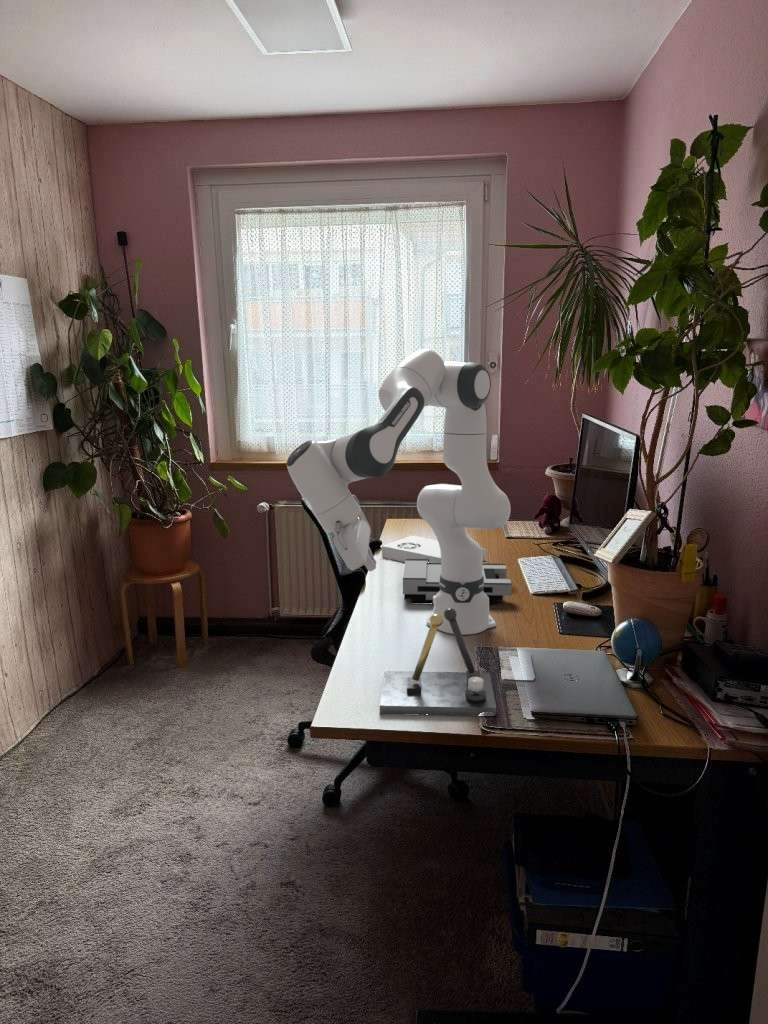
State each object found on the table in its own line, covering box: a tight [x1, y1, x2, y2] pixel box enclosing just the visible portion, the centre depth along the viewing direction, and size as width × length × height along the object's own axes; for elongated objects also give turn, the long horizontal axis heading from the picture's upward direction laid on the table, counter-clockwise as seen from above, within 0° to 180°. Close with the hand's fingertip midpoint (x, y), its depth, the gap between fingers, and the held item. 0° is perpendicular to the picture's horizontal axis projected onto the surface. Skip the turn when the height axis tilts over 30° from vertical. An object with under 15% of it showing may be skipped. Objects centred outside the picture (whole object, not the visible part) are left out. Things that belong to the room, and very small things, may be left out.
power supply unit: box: [381, 535, 487, 563], centre depth 252 cm, size 19×33×5 cm, turn 52°
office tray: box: [402, 559, 513, 606], centre depth 215 cm, size 21×32×8 cm, turn 86°
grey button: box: [468, 677, 484, 692], centre depth 145 cm, size 3×3×2 cm
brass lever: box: [412, 614, 443, 681], centre depth 148 cm, size 3×3×16 cm
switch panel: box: [379, 670, 497, 717], centre depth 150 cm, size 16×24×3 cm, turn 86°
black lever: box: [444, 608, 476, 674], centre depth 152 cm, size 3×3×16 cm
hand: (373, 567), depth 148 cm, fingers closed
